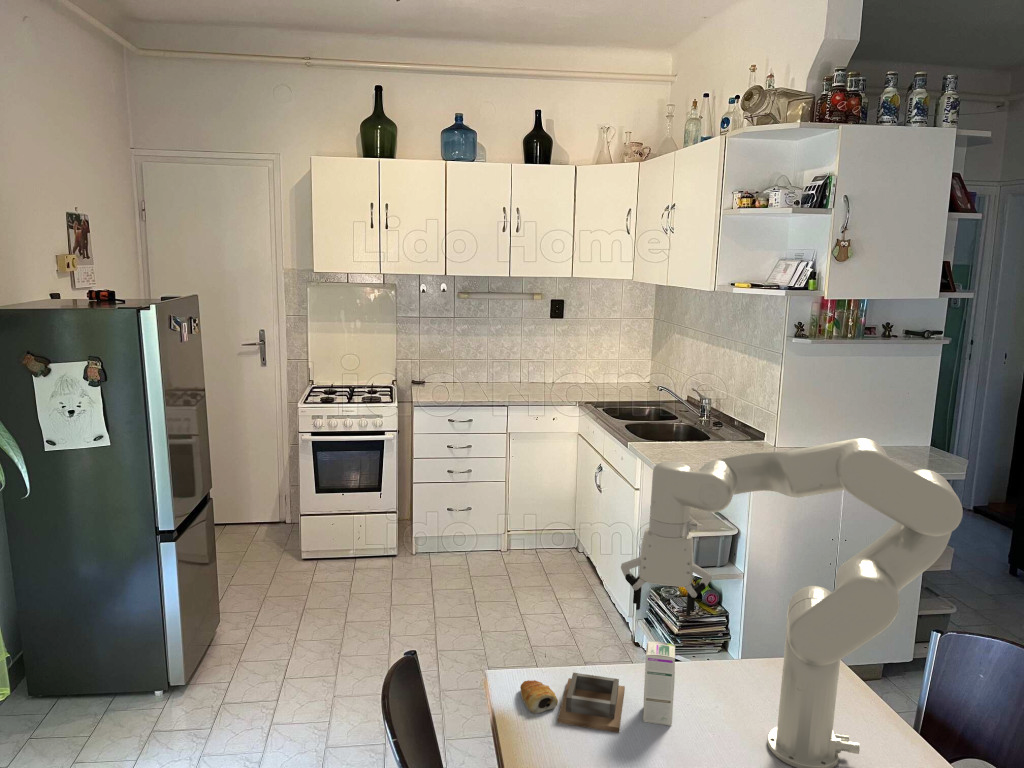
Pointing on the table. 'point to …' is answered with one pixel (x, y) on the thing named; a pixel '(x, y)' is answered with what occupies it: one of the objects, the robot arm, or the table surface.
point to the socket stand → (592, 702)
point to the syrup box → (659, 683)
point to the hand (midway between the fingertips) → (662, 610)
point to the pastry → (538, 696)
